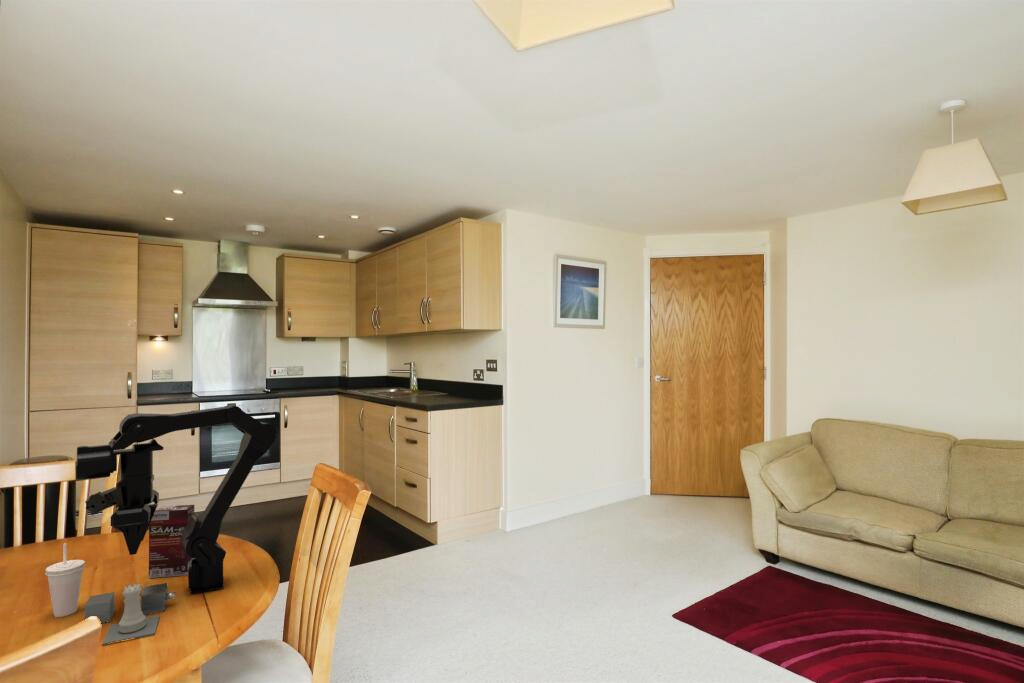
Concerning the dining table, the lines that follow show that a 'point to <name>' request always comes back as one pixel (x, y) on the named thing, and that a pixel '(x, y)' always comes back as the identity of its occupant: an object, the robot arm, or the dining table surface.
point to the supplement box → (168, 541)
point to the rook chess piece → (132, 610)
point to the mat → (147, 630)
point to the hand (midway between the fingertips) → (136, 547)
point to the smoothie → (65, 584)
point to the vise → (150, 602)
